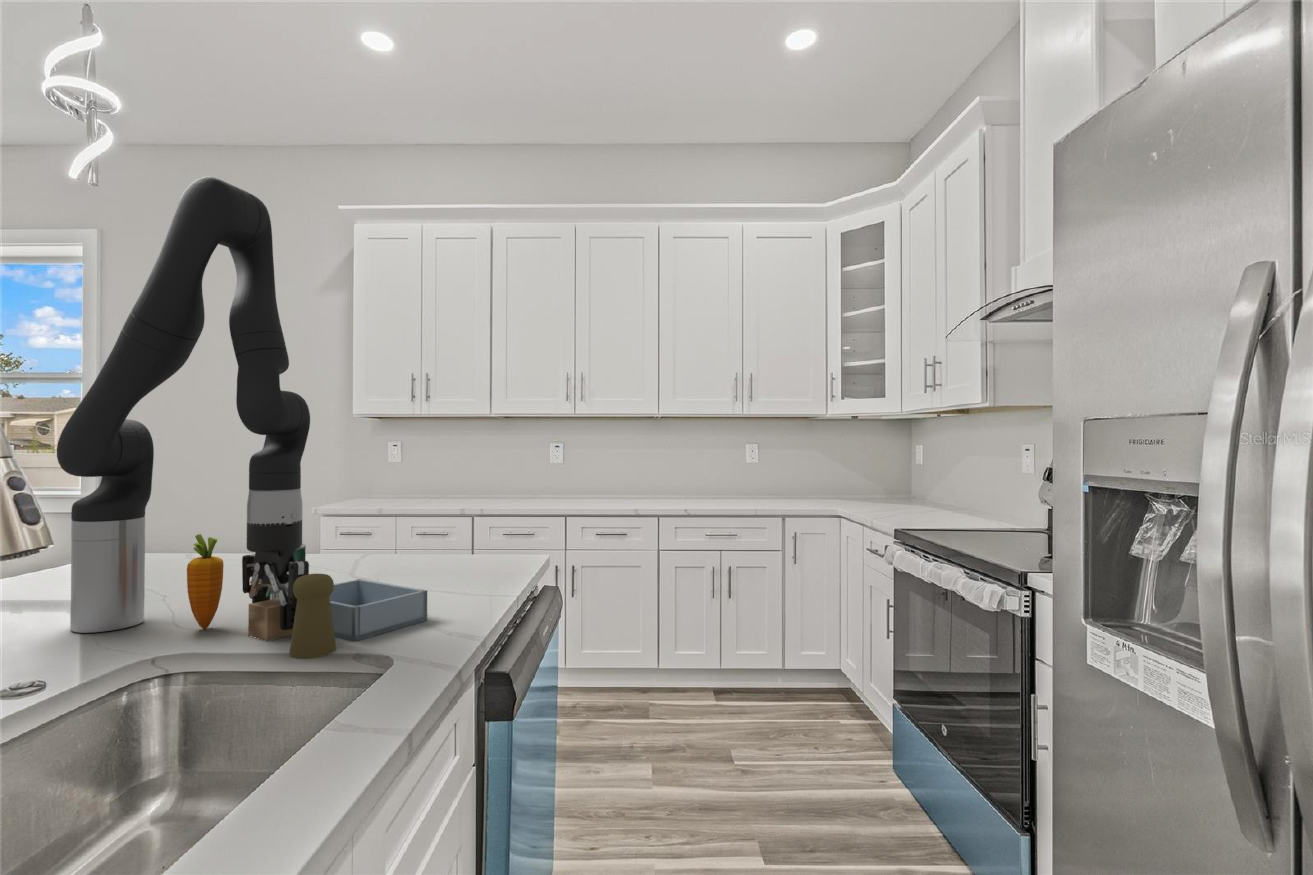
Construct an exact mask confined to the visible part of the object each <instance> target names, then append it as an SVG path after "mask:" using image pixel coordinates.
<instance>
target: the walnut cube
mask: <svg viewBox="0 0 1313 875" xmlns="http://www.w3.org/2000/svg"><path fill="white" fill-rule="evenodd" d="M281 606H282V604H281V601H280V598H276V599H271V600H266V601H261V602H256V603H252V602H251V603H248V619H247V620H248V622H247V624H248V626H247V627H248V628H247V629H248V630H247V631H248V634H247V636H248V637H250V636H252V637H251V638H253V637H256V638H255V639H257V638H259V639H258V640H261V639H262V641H264V640H265V642H269V640H270V641H273V639H274V640H277V639H276V638H278V639H281V638H280V637H282V638H285V637H284V636H286V637H289V636H292V632H293V629H289V630H282V629H281V628H280V620H281Z"/></svg>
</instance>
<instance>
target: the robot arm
mask: <svg viewBox="0 0 1313 875" xmlns="http://www.w3.org/2000/svg"><path fill="white" fill-rule="evenodd" d="M218 245H220V246H224V247H226V248H228V250H229V253H230V256H231V258H232V260H233V263H234V267H235V272H236V286H235V287H236V288H235V292H234V296H233V300H232V303H231V307H230V308H229V317H228V326H229V333H230V334H229V335H230V338H231V342H232V346H233V352H234V354H235V359H236V363H237V375H236V376H237V377H236V399H235V400H236V409H237V413H238V417H239V418H240V422H241V423H242V424H243V425H244V427H245V428H246V429H247V430H249V432H251V433H253V434H255V435H259V436H265V438H264V442H263V447H262V449H261V450H259V451H257V452H256V453H255V452H254V454H252V455H251V456H250V459H249V463H248V496H247V503H246V550H247V551H249V552H252V554H246V555H243V556H242V558H241V567H242V572H241V573H242V575H241V577H242V579H241V580H242V582H241V583H242V592H243V594H248V597H249V598H250V599H251V603H256V602H261V601H266V600H269V597H265V596H268V594H269V591H270V589H271V586H272V588H273V591H274V592H275V593H278V595H279V598H280V601H281V604H282V606H281V620H280V628H281V629H282V630H289V629H293V625H294V618H295V612H296V605H297V598H296V597H295V596H294V593H293V585H294V582H295V581H296V579H297V578H299V577H301V576H304V575H308V574H310V570H309V569H310V564H309V561H308V560H305V561H301V562H298V561H296V559H295V554H294V551H295V550H296V549H298V548H300V547H301V546H302V544H303V498H302V490H301V486H302V485H301V483H302V482H301V481H302V479H301V478H302V476H301V475H302V474H301V472H302V468H301V464H302V463H301V462H302V458H303V455H304V453H305V448H306V444H307V442H308V441H307V440H308V437H309V431H310V428H311V427H310V426H311V413H310V408H309V405H308V403H307V401H306V400H305V399H304V398H303V397H302V396H301V395H300V394H298V393H297V392H293V391H289V390H288V391H287V390H281V384H280V383H281V382H280V375H282V374H284V373H285V372H286V371H287V370H288V369H289V365H290V361H289V360H290V358H289V353H288V348H287V346H286V341H285V337H284V332H283V329H282V328H283V327H282V325H281V324H282V323H281V320H280V315H279V308H278V303H277V296H276V292H277V291H276V281H275V280H276V279H275V266H274V264H275V263H274V250H273V249H274V246H273V245H274V244H273V230H272V221H271V216H270V213H269V210H268V208H267V206H266V205H265V204H264V202H263V201H262V200H261V199H260V198H258V196H256V195H254V194H252V193H250V192H248V191H246V190H244V189H242V188H240V187H237V186H235V185H232V184H231V183H230V182H226V181H224V180H222V179H220V178H216V177H213V176H201V177H200V178H197V179H195V180H193V181H192V182H191V183H190V184H189V185H188V186H187V187H186V188H185V190H184V191H183V193H182V194H181V197H180V198H179V201H178V203H177V206H176V208H175V211H174V212H173V216H172V219H171V220H170V224H169V227H168V229H167V232H166V235H165V239H164V241H163V244H162V246H161V249H160V252H159V254H158V257H157V258H156V260H155V263H154V265H153V268H152V269H151V271H150V274H149V276H148V277H147V280H146V283H145V284H144V286H143V288H142V290H141V293H140V294H139V296H138V298H137V300H136V302H135V303H134V305H133V307H132V309H131V311H130V312H129V314H128V316H127V319H126V320H125V322H124V324H123V326H122V328H121V329H120V333H119V335H118V337H117V339H116V341H115V344H114V345H113V347H112V350H111V351H110V353H109V355H108V357H107V358H106V361H105V362H104V364H103V365H102V368H101V369H100V371H99V373H98V375H97V376H96V379H95V380H94V382H93V384H92V385H91V386H90V388H89V390H88V391H87V392H86V394H85V396H84V397H83V399H82V400H81V401H80V403H79V404H78V406H77V407H76V409H75V410H74V412H72V414H71V416H70V417H69V419H68V420H67V422H66V424H65V425H64V427H63V429H62V431H61V433H60V435H59V438H58V441H57V444H56V445H57V446H56V457H57V458H56V459H57V463H58V465H59V466H60V469H62V470H63V471H64V472H66V473H67V474H68V475H72V476H74V477H81V478H83V477H84V478H97V477H101V480H100V483H99V486H98V487H97V488H96V489H95V490H94V491H93V492H91V493H89V494H88V495H86V496H84V497H81V498H80V499H78V500H76V501H75V502H74V503H73V504H72V506H71V510H70V511H71V512H70V513H71V516H70V519H71V523H70V524H71V531H70V533H71V534H70V535H71V536H70V537H71V542H70V544H71V548H70V552H71V553H70V554H71V555H70V556H71V558H70V562H71V563H70V565H71V566H70V568H71V569H70V617H69V618H70V623H69V624H70V625H69V627H70V631H71V632H73V633H83V634H85V633H86V634H87V633H100V632H101V633H102V632H109V631H116V630H122V629H125V628H126V629H127V628H129V627H133V626H137V625H140V624H141V623H143V622H144V621H145V582H146V581H145V580H146V578H145V577H146V576H145V575H146V573H145V572H146V571H145V570H146V569H145V568H146V561H145V560H146V508H147V505H148V503H149V501H150V498H151V495H152V485H153V484H152V482H153V473H154V472H153V471H154V460H155V459H154V457H155V456H154V455H155V454H154V452H155V449H154V441H153V437H152V435H151V433H150V430H149V429H148V428H147V427H146V425H144V424H143V423H142V422H140V421H137V420H134V419H127V418H128V416H129V415H130V413H131V411H132V410H133V409H134V407H135V406H136V405H137V404H138V403H139V402H140V401H141V400H142V399H143V398H144V397H146V396H147V395H148V394H149V393H151V392H152V391H153V390H155V389H157V387H160V386H161V385H162V384H163V383H164V382H166V381H167V380H168V379H169V378H171V377H173V375H175V374H176V373H177V372H178V371H179V370H180V369H181V368H182V367H183V366H184V365H185V363H186V362H187V361H188V360H189V358H190V356H191V354H192V352H193V350H194V348H195V346H196V345H197V343H198V340H199V339H200V337H201V334H202V332H203V330H204V326H205V315H206V314H205V305H204V303H205V302H204V297H203V280H204V279H203V278H204V274H205V270H206V268H207V266H208V263H209V262H210V259H211V257H212V255H213V253H214V252H215V250H216V248H217V246H218ZM287 582H288V583H287ZM262 587H263V588H262ZM285 591H288V597H287V595H286V592H285Z"/></svg>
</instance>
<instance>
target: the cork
mask: <svg viewBox="0 0 1313 875" xmlns="http://www.w3.org/2000/svg"><path fill="white" fill-rule="evenodd" d="M334 584H335V582H334V579H333V578H332V577H331V575H329V574H326V573H309V574H308V575H304V576H301V577H299V578H297V579H296V581H295V582H294V585H293V593H294V596H295V597H296V598H297V605H296V612H295V618H294V625H293V632H292V635H291V639H290V646H289V650H288V651H289V653H288V655H289V658H290V657H291V658H292V659H300V660H301V659H302V660H303V659H305V660H306V659H315V658H316V659H317V658H321V657H325V656H328V655H331V654H333V653H335V652H336V650H337V644H336V636H335V635H334V627H333V620H332V613H331V605H330V598H329V596H330V595H331V593H332V592H333V589H334Z"/></svg>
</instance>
